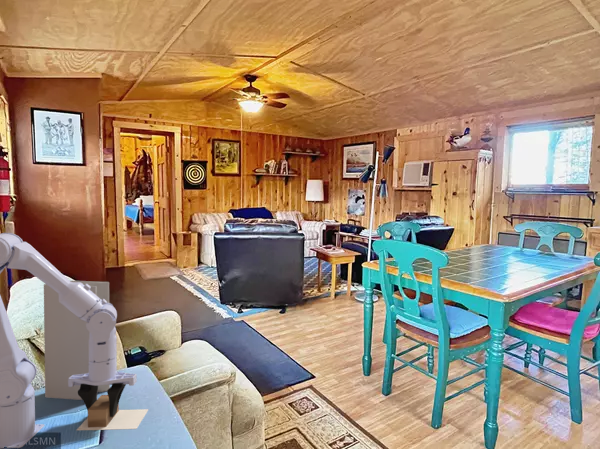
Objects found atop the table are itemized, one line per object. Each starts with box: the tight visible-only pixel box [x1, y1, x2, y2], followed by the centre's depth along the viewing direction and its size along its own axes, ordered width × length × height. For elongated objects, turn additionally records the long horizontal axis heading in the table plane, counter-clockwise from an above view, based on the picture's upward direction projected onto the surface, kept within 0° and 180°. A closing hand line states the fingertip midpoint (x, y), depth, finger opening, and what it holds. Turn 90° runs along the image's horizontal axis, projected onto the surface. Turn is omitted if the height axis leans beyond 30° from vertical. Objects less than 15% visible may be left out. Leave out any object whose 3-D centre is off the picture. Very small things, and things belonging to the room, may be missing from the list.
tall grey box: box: [43, 280, 111, 401], centre depth 97 cm, size 14×6×30 cm, turn 84°
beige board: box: [76, 408, 149, 431], centre depth 86 cm, size 13×8×1 cm, turn 94°
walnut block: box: [87, 394, 120, 427], centre depth 86 cm, size 7×4×4 cm, turn 4°
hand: (103, 414), depth 86 cm, fingers closed on walnut block, 4 cm apart
